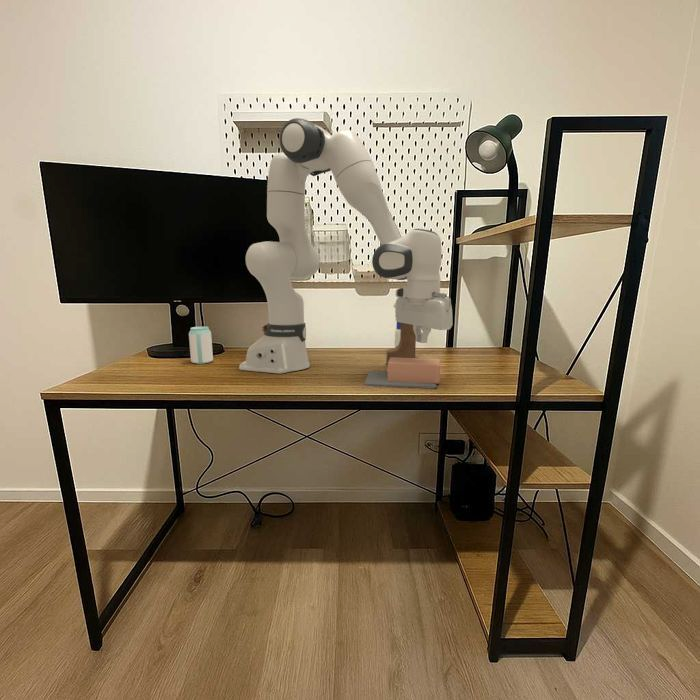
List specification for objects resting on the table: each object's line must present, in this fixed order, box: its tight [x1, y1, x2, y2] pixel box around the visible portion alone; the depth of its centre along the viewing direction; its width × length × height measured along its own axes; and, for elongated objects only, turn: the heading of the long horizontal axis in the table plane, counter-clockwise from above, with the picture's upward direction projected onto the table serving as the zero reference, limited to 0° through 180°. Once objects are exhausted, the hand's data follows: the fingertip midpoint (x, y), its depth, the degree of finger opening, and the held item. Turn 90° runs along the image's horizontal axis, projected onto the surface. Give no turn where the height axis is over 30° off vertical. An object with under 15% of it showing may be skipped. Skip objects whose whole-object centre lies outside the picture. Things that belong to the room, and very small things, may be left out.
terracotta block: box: [387, 357, 441, 384], centre depth 110 cm, size 5×8×14 cm
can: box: [188, 326, 214, 365], centre depth 133 cm, size 7×7×12 cm
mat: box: [363, 370, 437, 389], centre depth 111 cm, size 19×14×1 cm
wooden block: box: [386, 323, 417, 365], centre depth 129 cm, size 9×4×18 cm, turn 90°
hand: (421, 342), depth 108 cm, fingers closed
